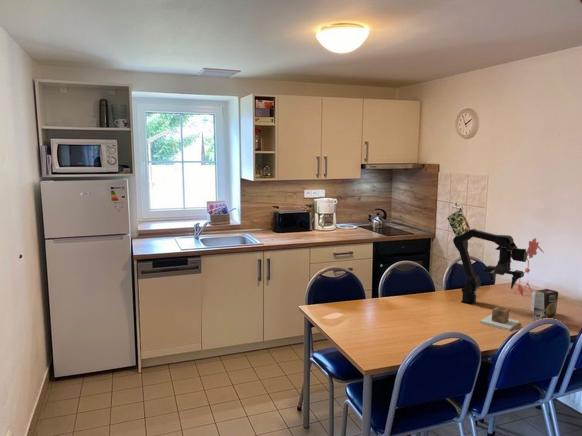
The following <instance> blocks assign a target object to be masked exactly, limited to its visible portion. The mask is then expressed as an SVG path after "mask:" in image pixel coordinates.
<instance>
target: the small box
mask: <svg viewBox="0 0 582 436" xmlns="http://www.w3.org/2000/svg"><path fill="white" fill-rule="evenodd" d="M535 293H536V291H532V293H531V306H530V311H531V312H532V313H534V303H535Z"/></svg>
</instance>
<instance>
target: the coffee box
mask: <svg viewBox="0 0 582 436" xmlns="http://www.w3.org/2000/svg"><path fill="white" fill-rule="evenodd" d="M535 292H536V293H535V303H534V313H533V312H532V313H533V316H532V321H533V322H535V321H536V320H539V319H543V318H553V319H556V320H557V310H558V300H559V299H558V298H559V291H557V290H553V289H549V288H545V289H538V290H535Z"/></svg>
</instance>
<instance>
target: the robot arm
mask: <svg viewBox="0 0 582 436" xmlns="http://www.w3.org/2000/svg"><path fill="white" fill-rule="evenodd" d="M472 238H476V239H480V240H485V241H488V242H492V243H494V244H496V245H497V247H496V248H495V250H496V251H499V253H498V254H499V256H498V261H497V264H496V265H486V266H485V267H484V273H486V274H487V275H489V276H490V279H491V281H492V285H493V286H496V285H495V284H496V276H497V275H500V276H504V275H505V274H507V275H512V277H511V285H510V289H511V290H512V289H514V287H515V285H516V283H517V281H518V280H520V279H521V278H523V277H525V273H524V272H525V271H523V270H519V269H516V270H514V271H513V270H511V269H512V268H511V263H512V260H513V261H516V262H523V263H526V262H527V261H528V260H527V259H528V256H527V248H520V247H519V248H518V246H517V245H516V244H515V241H514V238H513V236H511V235H509V234H508V235H507V234H506V235H505V234H494V233H490V232H486V231H483V230H478V229H476V228H472V229H469V230H467V231H466V232H464V233H462V234H458V235H456V236H454V237H453V239H452V243H453V244H454V246H455V247H454V248H456V250H457V251H458V252H459V256H460V259H461V263H462V266H463V271H464V273H465V281H464V282H465V286H464V287H462V288H461V289H460V290H461V293H462V298H461V299H462V300H460V302H461V303H465V304H469V305H474V304H476V303H477V294H476V292H477V290H478V289H480V287H481V283H482V281H481V279H480V276H479V275H477V274H475V272H474V271H475V270H474V268H473V265H472V260H471V258H470V254H469V251H468V249H469V240H471V239H472Z"/></svg>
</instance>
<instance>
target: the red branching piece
mask: <svg viewBox="0 0 582 436" xmlns="http://www.w3.org/2000/svg"><path fill="white" fill-rule="evenodd" d="M538 249H539V250H540V251H541V252H542V253H543V254H544V253H545V252H544V251H543V250H542V248H541V247H540V246H539V241H537V238H536V237H534V238H532V240H529V241H528V248H527V249H526V252H527V257H528V258H529V259H528V258H527V260H526V261H527V267H526V268H525V269H524V271H523V272H524V274H525V273H529V272H530V270H531V269H530V268H529V267H530V266H529V265H530V259H532V258H533V257H534V256H536V255H537V253H538V252H537V250H538ZM518 282H519V283H518V284H517V288H516V289H515V291H514V294H516V292H517V291H518V292H519V294H520V295H521V296H523V294H524V290H525V289H526V287H528V289H529V290H530V291H531V292H533V290H532V288H531V286H530V284H529V282H528V281H527V282H526V284H525V286H524V287H523V286H522V285H521V281H518Z"/></svg>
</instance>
